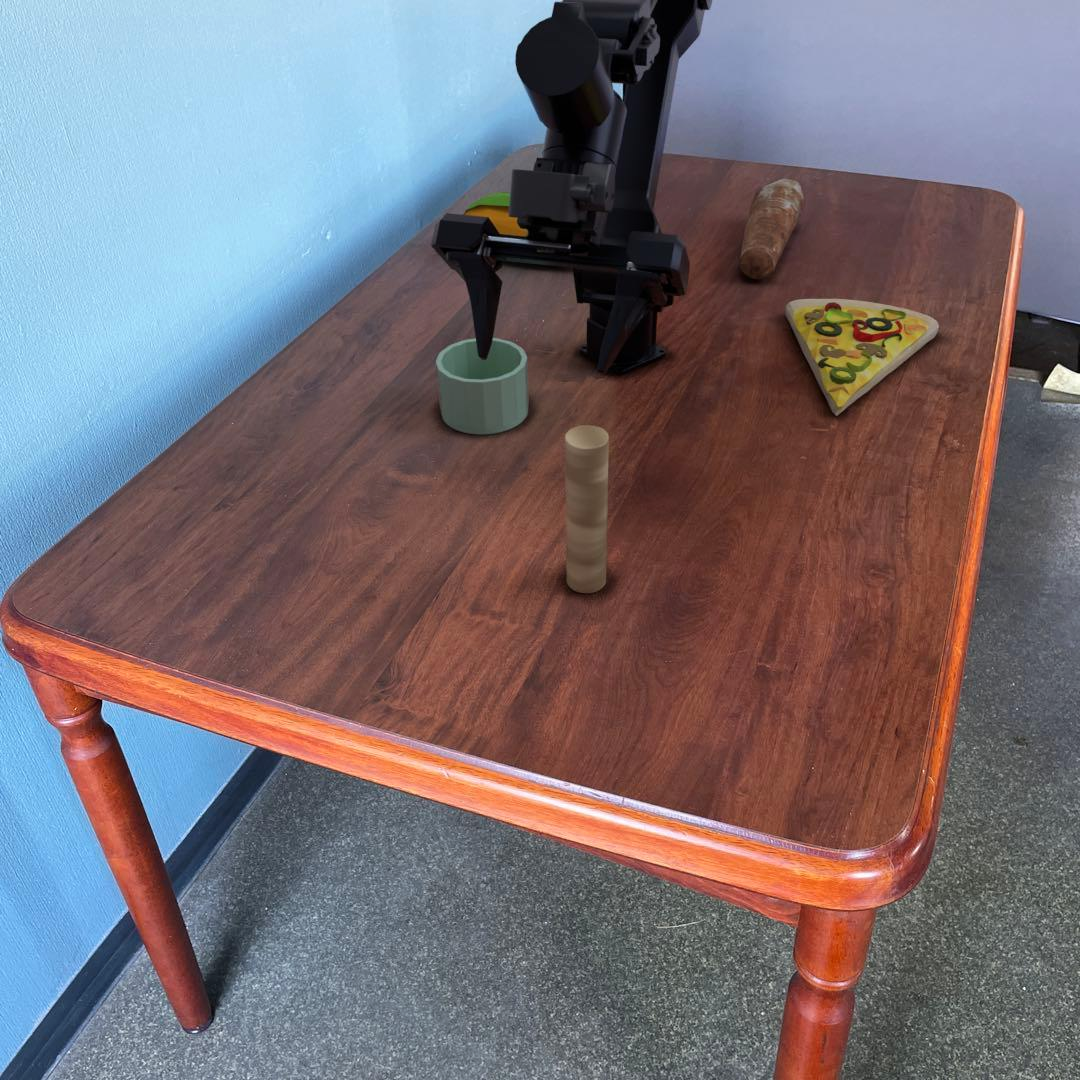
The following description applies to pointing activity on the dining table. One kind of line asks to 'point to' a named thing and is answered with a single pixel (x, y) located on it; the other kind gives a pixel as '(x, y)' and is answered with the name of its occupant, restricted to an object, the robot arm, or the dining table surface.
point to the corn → (497, 213)
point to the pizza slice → (855, 343)
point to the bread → (770, 226)
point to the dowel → (586, 507)
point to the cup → (483, 387)
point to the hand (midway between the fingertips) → (540, 366)
